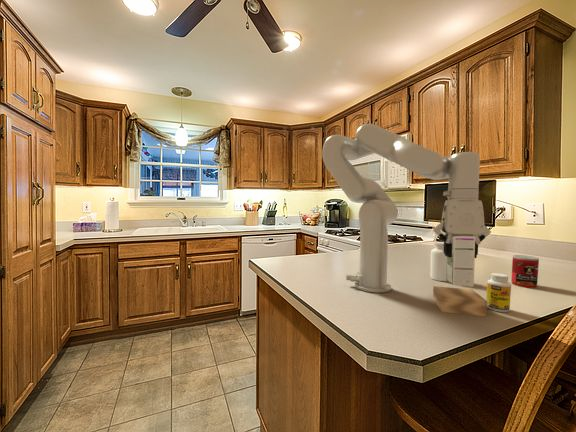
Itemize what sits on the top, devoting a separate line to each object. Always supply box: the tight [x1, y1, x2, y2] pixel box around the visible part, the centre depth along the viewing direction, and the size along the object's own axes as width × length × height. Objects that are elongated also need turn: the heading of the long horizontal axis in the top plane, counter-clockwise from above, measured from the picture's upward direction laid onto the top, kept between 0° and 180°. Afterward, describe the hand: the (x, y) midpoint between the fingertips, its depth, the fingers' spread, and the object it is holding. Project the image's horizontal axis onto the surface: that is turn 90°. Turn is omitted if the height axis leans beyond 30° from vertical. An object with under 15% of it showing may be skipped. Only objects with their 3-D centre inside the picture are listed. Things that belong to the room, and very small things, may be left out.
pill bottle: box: [429, 241, 448, 282], centre depth 114 cm, size 8×8×15 cm
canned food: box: [511, 254, 540, 289], centre depth 107 cm, size 8×8×11 cm
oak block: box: [432, 285, 488, 317], centre depth 83 cm, size 11×11×4 cm
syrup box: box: [446, 234, 476, 287], centre depth 82 cm, size 6×6×14 cm
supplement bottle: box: [485, 272, 512, 313], centre depth 82 cm, size 6×6×10 cm
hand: (460, 256), depth 82 cm, fingers closed on syrup box, 6 cm apart
